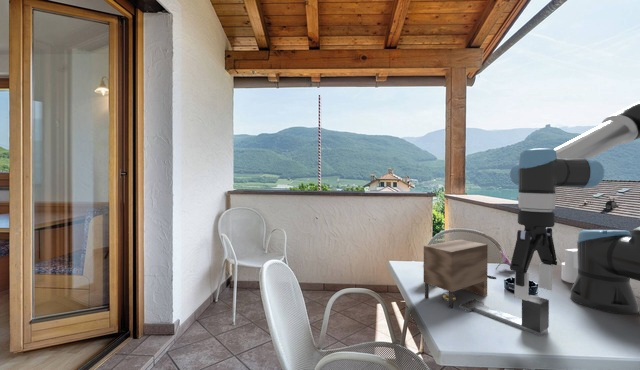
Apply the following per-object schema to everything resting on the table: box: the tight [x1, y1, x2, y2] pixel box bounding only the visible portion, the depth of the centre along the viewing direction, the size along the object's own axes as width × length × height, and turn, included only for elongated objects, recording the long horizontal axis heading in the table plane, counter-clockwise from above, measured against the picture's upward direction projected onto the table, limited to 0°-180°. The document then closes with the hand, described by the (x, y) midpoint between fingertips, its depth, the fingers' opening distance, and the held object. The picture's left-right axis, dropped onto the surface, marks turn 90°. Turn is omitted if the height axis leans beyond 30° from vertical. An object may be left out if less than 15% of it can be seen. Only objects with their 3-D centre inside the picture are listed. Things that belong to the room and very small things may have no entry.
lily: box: [495, 247, 512, 270], centre depth 124 cm, size 12×12×10 cm
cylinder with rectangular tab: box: [561, 248, 578, 284], centre depth 111 cm, size 9×9×12 cm
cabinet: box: [423, 239, 489, 309], centre depth 96 cm, size 10×20×17 cm, turn 122°
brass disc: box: [442, 292, 457, 302], centre depth 94 cm, size 4×4×1 cm
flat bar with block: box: [459, 294, 550, 337], centre depth 81 cm, size 20×8×8 cm, turn 32°
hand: (533, 293), depth 74 cm, fingers open, 13 cm apart
